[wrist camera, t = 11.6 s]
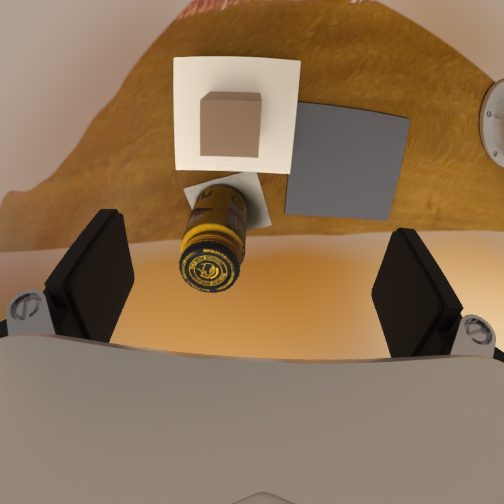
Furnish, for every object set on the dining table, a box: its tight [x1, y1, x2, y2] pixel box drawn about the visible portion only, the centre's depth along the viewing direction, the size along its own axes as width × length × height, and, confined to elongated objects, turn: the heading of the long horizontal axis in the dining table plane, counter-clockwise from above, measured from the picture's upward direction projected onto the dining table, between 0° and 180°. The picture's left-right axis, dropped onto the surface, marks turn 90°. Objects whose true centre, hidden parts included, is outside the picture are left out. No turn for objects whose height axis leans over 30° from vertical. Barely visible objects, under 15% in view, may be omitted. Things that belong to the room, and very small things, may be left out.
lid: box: [174, 56, 301, 174], centre depth 22 cm, size 10×10×6 cm
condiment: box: [179, 172, 272, 293], centre depth 31 cm, size 7×8×12 cm
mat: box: [284, 102, 410, 221], centre depth 33 cm, size 13×13×1 cm
